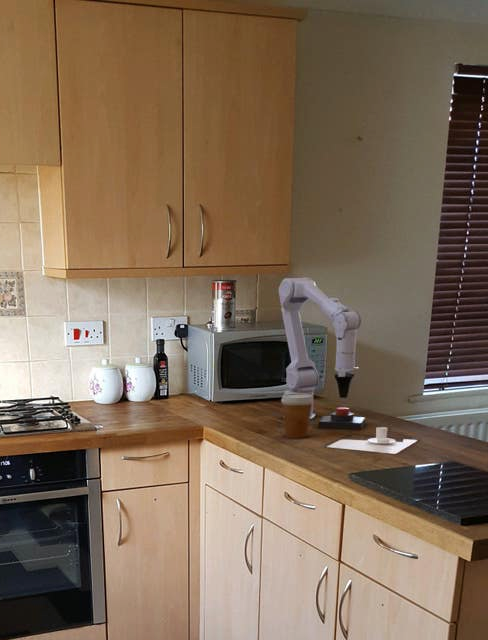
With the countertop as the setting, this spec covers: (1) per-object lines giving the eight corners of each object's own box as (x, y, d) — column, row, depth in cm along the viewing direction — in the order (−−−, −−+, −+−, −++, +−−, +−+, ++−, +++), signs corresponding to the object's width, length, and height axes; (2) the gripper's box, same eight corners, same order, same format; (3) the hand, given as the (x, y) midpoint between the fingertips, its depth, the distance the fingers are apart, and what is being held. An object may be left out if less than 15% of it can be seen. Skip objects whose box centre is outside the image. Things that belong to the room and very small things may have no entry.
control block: (318, 428, 271) (318, 415, 270) (323, 422, 280) (323, 410, 279) (360, 430, 267) (361, 417, 266) (364, 424, 276) (365, 411, 275)
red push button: (334, 415, 271) (335, 409, 271) (336, 413, 275) (337, 407, 274) (347, 416, 270) (348, 409, 269) (349, 414, 274) (349, 407, 273)
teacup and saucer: (389, 446, 244) (390, 432, 243) (362, 444, 248) (362, 429, 247) (399, 441, 251) (400, 426, 250) (372, 438, 255) (373, 424, 254)
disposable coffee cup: (314, 433, 264) (316, 393, 260) (309, 440, 255) (310, 398, 251) (283, 432, 267) (284, 392, 263) (277, 438, 258) (277, 397, 254)
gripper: (356, 355, 259) (353, 401, 264) (361, 350, 272) (359, 394, 277) (332, 355, 261) (330, 400, 266) (338, 349, 274) (336, 393, 279)
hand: (343, 397), depth 271 cm, fingers closed
